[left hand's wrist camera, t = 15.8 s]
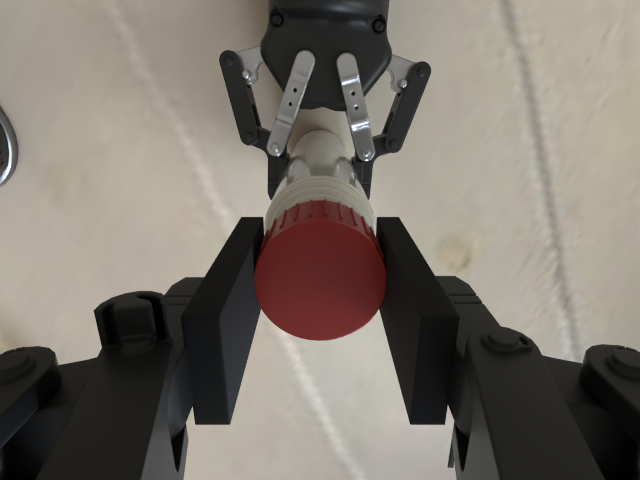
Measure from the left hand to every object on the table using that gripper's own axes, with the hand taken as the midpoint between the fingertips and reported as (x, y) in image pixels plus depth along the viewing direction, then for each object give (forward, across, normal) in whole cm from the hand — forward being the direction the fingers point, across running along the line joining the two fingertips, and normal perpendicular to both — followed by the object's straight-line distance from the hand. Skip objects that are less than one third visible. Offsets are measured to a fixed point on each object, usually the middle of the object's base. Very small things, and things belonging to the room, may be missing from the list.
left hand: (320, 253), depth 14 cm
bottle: (+22, 0, 0) cm, 22 cm away
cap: (-2, 0, 0) cm, 2 cm away
